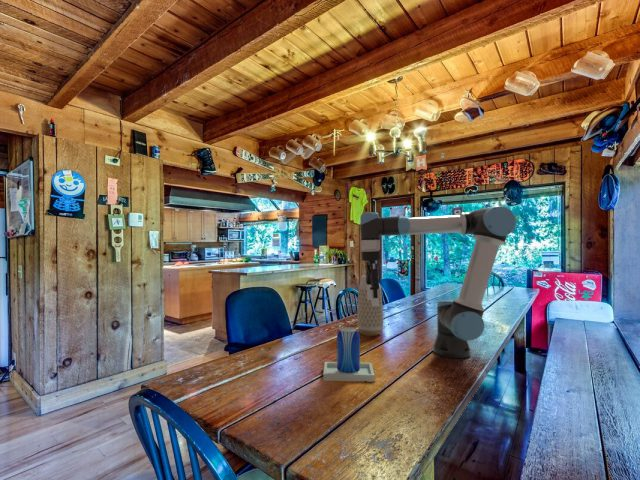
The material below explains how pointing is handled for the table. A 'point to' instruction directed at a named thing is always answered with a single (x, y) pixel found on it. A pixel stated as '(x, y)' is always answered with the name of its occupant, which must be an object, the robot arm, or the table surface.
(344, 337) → the beer can
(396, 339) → the table surface
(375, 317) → the vase
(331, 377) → the tray
